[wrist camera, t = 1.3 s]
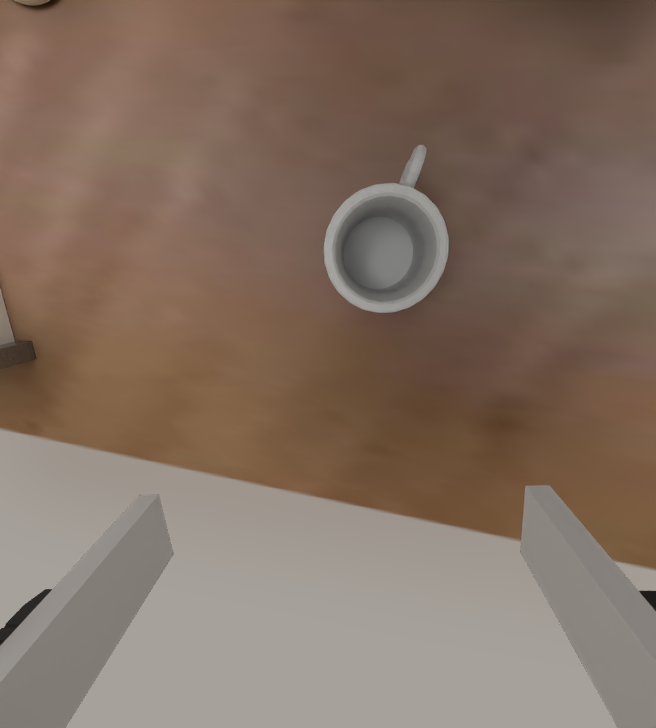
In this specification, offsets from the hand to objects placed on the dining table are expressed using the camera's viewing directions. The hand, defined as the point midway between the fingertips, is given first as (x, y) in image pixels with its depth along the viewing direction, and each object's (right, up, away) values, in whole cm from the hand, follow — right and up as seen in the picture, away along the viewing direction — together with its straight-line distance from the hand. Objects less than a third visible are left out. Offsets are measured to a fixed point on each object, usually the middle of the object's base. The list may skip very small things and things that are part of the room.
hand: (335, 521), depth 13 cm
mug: (+5, +18, +22) cm, 29 cm away
